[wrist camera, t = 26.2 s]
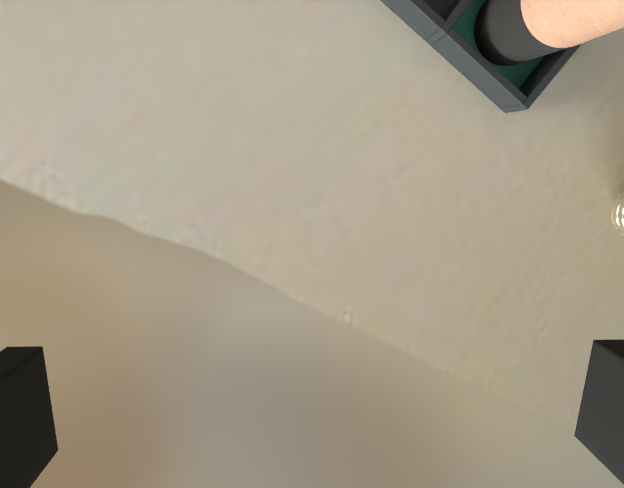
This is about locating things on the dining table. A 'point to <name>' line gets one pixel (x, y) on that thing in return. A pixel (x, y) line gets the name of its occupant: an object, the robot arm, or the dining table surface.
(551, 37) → the travel mug
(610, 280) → the dining table surface
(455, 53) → the divided organizer tray
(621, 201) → the water bottle
